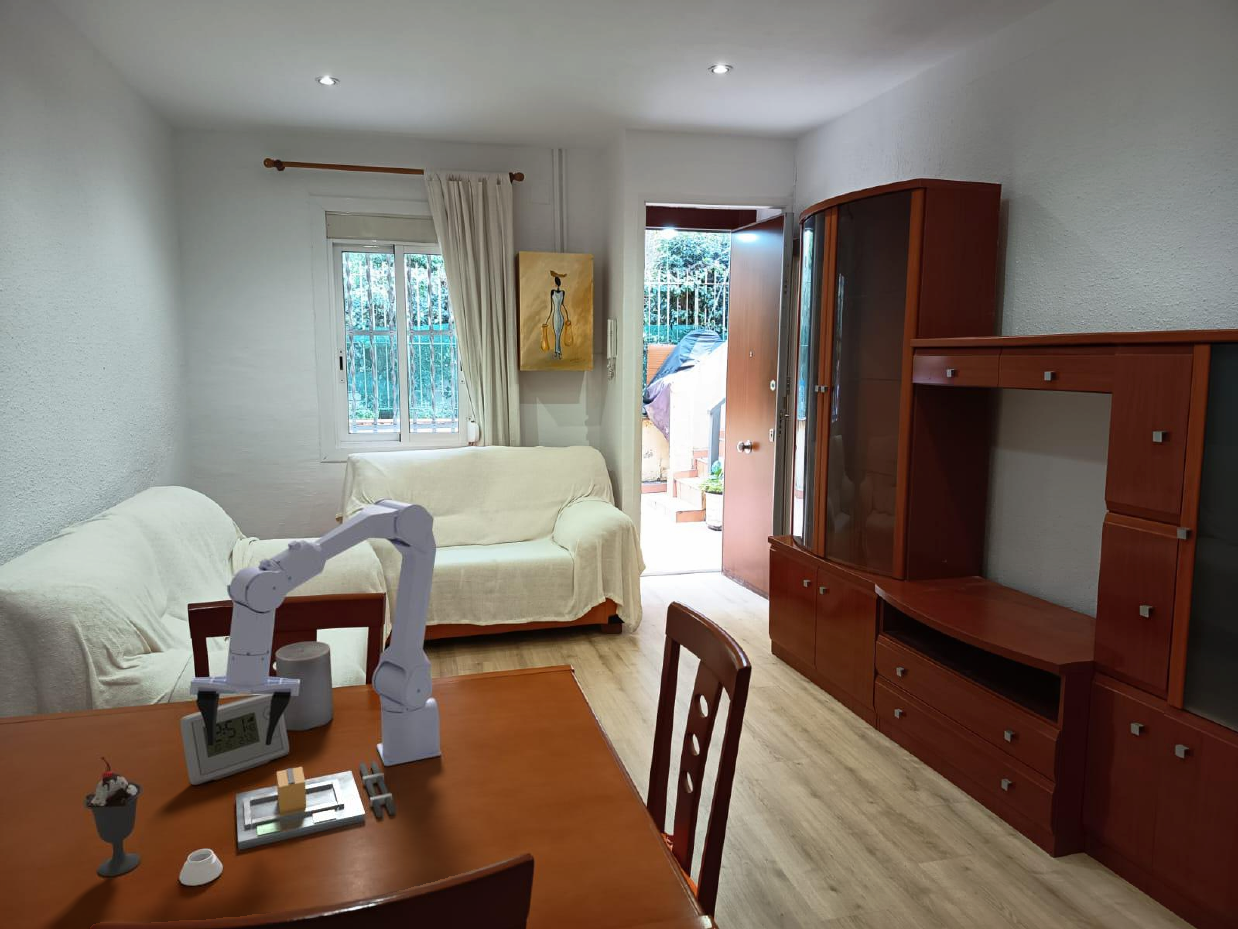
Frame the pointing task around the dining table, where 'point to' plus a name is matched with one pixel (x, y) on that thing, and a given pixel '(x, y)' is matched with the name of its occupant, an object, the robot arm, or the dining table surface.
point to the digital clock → (232, 739)
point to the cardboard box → (291, 790)
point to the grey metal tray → (298, 811)
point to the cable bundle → (368, 781)
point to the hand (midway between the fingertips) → (240, 742)
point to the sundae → (115, 819)
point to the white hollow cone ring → (200, 868)
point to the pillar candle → (307, 684)
